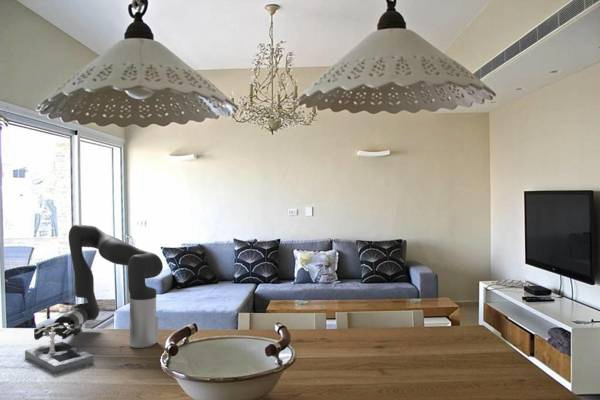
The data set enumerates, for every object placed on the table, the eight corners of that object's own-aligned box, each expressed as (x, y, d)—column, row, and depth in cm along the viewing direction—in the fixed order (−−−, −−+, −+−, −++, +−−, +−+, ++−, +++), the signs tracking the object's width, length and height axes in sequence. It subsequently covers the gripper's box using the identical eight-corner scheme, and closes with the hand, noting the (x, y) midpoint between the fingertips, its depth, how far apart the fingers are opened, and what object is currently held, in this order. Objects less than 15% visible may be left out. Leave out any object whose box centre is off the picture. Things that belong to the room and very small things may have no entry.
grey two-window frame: (62, 348, 157) (62, 341, 157) (93, 363, 143) (93, 355, 143) (24, 357, 147) (25, 350, 147) (54, 374, 134) (55, 366, 134)
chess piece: (63, 354, 150) (64, 325, 150) (53, 360, 146) (54, 329, 146) (50, 354, 151) (50, 324, 151) (40, 359, 146) (40, 329, 146)
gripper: (48, 313, 161) (27, 325, 145) (89, 312, 163) (72, 324, 147) (48, 333, 161) (26, 348, 145) (89, 332, 163) (72, 347, 147)
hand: (49, 336), depth 146 cm, fingers open, 8 cm apart
